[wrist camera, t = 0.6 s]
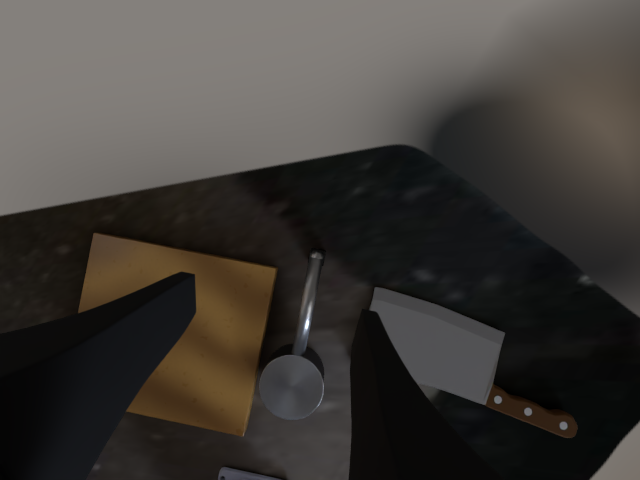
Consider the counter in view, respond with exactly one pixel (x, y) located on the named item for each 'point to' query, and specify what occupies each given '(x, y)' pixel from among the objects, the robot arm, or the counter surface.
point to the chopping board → (192, 328)
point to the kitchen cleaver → (457, 357)
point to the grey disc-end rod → (296, 359)
